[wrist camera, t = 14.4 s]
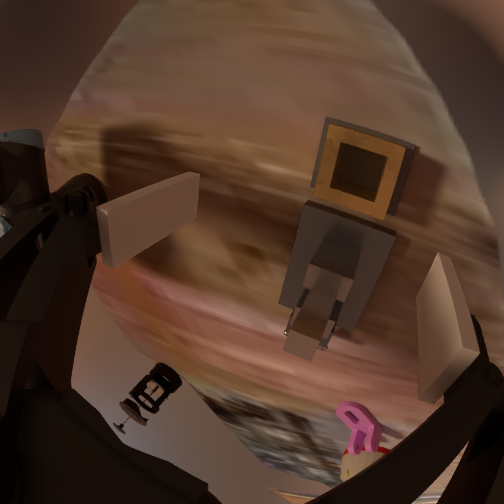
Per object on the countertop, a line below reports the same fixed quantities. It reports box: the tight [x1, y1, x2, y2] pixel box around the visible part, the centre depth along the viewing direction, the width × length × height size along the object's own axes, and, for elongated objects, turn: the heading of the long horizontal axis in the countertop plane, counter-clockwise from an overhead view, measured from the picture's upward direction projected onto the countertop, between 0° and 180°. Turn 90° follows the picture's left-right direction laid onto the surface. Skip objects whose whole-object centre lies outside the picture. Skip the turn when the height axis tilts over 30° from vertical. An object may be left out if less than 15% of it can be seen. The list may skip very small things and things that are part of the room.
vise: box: [278, 200, 396, 361], centre depth 33 cm, size 12×19×16 cm, turn 171°
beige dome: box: [340, 445, 390, 482], centre depth 49 cm, size 14×14×15 cm
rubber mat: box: [310, 117, 416, 215], centre depth 31 cm, size 11×9×1 cm
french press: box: [113, 363, 182, 434], centre depth 65 cm, size 12×9×23 cm
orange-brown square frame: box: [313, 124, 406, 220], centre depth 29 cm, size 8×8×5 cm
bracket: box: [336, 401, 382, 455], centre depth 47 cm, size 13×6×7 cm, turn 45°
